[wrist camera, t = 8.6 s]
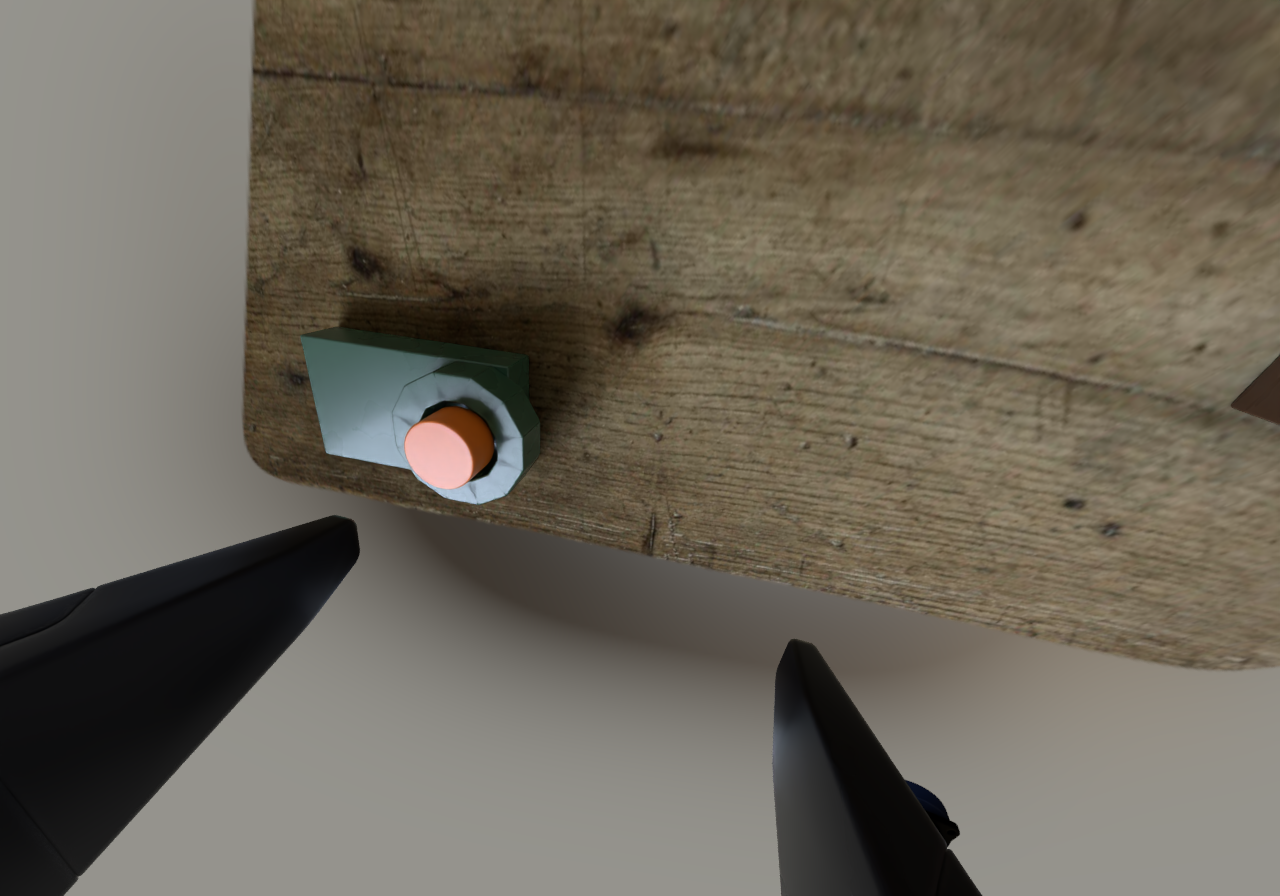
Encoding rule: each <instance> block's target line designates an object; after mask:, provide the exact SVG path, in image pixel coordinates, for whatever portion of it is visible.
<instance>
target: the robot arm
mask: <svg viewBox="0 0 1280 896" xmlns="http://www.w3.org/2000/svg"><path fill="white" fill-rule="evenodd" d="M359 553H360V548H359V540H358V533H357V526H356V523H355V522H354V520H352V519H349V518H345V517H341V516H336V515H333V516H329V517H325V518H322V519H319V520H315V521H312V522H309V523H306V524H302V525H299V526H296V527H292V528H289V529H286V530H282V531H279V532H276V533H272V534H270V535H266V536H263V537H259V538H256V539H252V540H249V541H246V542H243V543H239V544H236V545H233V546H229V547H226V548H223V549H220V550H216V551H213V552H209V553H206V554H203V555H200V556H196V557H193V558H189V559H186V560H183V561H180V562H176V563H173V564H170V565H167V566H163V567H160V568H156V569H153V570H150V571H147V572H144V573H140V574H137V575H133V576H130V577H127V578H123V579H120V580H117V581H114V582H110V583H107V584H103V585H100V586H98V587H97V588H96V589H95V588H90V589H87V590H83V591H80V592H77V593H73V594H70V595H67V596H63V597H60V598H57V599H53V600H50V601H46V602H43V603H40V604H36V605H33V606H29V607H26V608H22V609H19V610H15V611H12V612H8V613H4V614H1V615H0V896H64V894H65V893H66V892H67V891H68V890H69V889H70V888H71V887H72V886H73V885H74V883H75V882H76V881H77V880H78V876H81V875H82V874H83V873H84V872H85V871H86V870H87V869H88V868H89V867H90V865H91V864H92V863H93V862H94V861H95V860H96V859H97V858H98V856H100V854H101V853H102V852H103V851H104V850H105V849H106V848H107V847H108V846H109V844H110V843H111V842H112V841H113V840H114V839H115V838H116V837H117V836H118V835H119V834H120V832H121V831H122V830H123V829H124V828H125V827H126V826H127V825H128V824H129V822H130V821H131V820H132V819H133V818H134V817H135V816H136V815H137V814H138V812H139V811H140V810H141V809H142V808H143V807H144V806H145V805H146V804H147V803H148V802H149V800H150V799H151V798H152V797H153V796H154V795H155V794H156V793H157V792H158V791H159V789H160V788H161V787H162V786H163V785H164V784H165V783H166V782H167V781H168V779H169V778H170V777H171V776H172V775H173V774H174V773H175V772H176V771H177V770H178V769H179V767H180V766H181V765H182V764H183V763H184V762H185V761H186V759H188V757H189V756H190V755H191V754H192V753H193V752H194V751H195V750H196V749H197V748H198V746H199V745H200V744H201V743H202V742H203V741H204V740H205V739H206V738H207V737H208V735H209V734H210V733H211V732H212V731H213V730H214V729H215V728H216V727H217V726H218V724H219V723H220V722H221V721H222V720H223V719H224V718H225V717H226V716H227V715H228V713H229V712H230V711H231V710H232V709H233V708H234V707H235V706H236V705H237V704H238V702H239V701H240V700H241V699H242V698H243V697H244V696H245V694H247V692H248V691H249V690H250V689H251V688H252V687H253V686H254V685H255V684H256V683H257V681H258V680H259V679H260V678H261V677H262V676H263V675H264V674H265V673H266V671H267V670H268V669H269V668H270V667H271V666H272V665H273V664H274V663H275V662H276V661H277V659H278V658H279V657H280V656H281V655H282V654H283V653H284V652H285V651H286V649H287V648H288V647H289V646H290V645H291V644H292V643H293V642H294V641H295V640H296V638H297V637H298V636H299V635H300V634H301V633H302V632H303V630H304V629H305V628H306V627H307V626H308V625H309V624H310V622H311V621H312V620H313V618H314V617H315V616H316V615H317V613H318V612H319V611H320V609H321V608H322V607H323V605H324V604H325V603H326V601H327V600H328V599H329V597H330V596H331V595H332V594H333V592H334V591H335V590H336V588H337V587H338V586H339V584H340V583H341V581H342V580H343V579H344V578H345V576H346V575H347V573H348V572H349V571H350V570H351V568H352V567H353V566H354V564H355V563H356V561H357V559H358V557H359ZM773 782H774V797H775V810H776V825H777V839H778V853H779V868H780V882H781V896H982V895H981V893H980V892H979V890H978V889H977V888H976V886H975V884H974V883H973V882H972V880H971V879H970V877H969V876H968V874H967V873H966V871H965V870H964V868H963V867H962V865H961V864H960V862H959V861H958V859H957V858H956V856H955V855H954V853H953V852H952V851H951V850H950V849H947V844H949V843H950V842H951V841H953V840H954V839H955V838H957V837H958V836H959V835H960V831H959V828H958V825H957V824H956V823H955V822H952V821H950V820H948V819H945V818H943V817H941V816H938V815H936V814H933V813H931V812H928V811H926V810H924V808H923V807H922V805H921V804H920V802H919V801H918V799H917V798H916V796H915V795H914V793H913V792H912V790H911V789H910V787H909V786H908V784H907V783H906V781H905V780H904V779H903V777H902V775H901V774H900V773H899V771H898V769H897V768H896V766H895V765H894V764H893V762H892V761H891V759H890V757H889V756H888V754H887V753H886V752H885V750H884V749H883V747H882V745H881V744H880V742H879V741H878V740H877V738H876V736H875V735H874V733H873V732H872V730H871V729H870V728H869V726H868V724H867V723H866V721H865V720H864V718H863V717H862V715H861V714H860V712H859V711H858V709H857V708H856V706H855V705H854V704H853V702H852V700H851V699H850V698H849V696H848V694H847V693H846V692H845V690H844V688H843V687H842V686H841V684H840V682H839V681H838V679H837V678H836V676H835V675H834V673H833V672H832V670H831V669H830V667H829V666H828V664H827V663H826V662H825V660H824V659H823V657H822V655H821V654H820V653H819V651H818V649H817V648H816V647H815V646H814V645H813V644H812V643H809V642H805V641H801V640H798V639H791V640H790V642H789V643H788V645H787V647H786V649H785V652H784V654H783V656H782V659H781V661H780V663H779V665H778V668H777V672H776V680H775V706H774V732H773Z"/></svg>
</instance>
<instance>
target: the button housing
mask: <svg viewBox="0 0 1280 896" xmlns="http://www.w3.org/2000/svg"><path fill="white" fill-rule="evenodd" d="M301 341H302V346H303V350H304V355H305V360H306V364H307V369H308V373H309V378H310V382H311V387H312V392H313V396H314V401H315V405H316V410H317V414H318V419H319V424H320V428H321V433H322V437H323V442H324V446H325V451H326V453H327V454H332V455H337V456H342V457H347V458H353V459H358V460H363V461H368V462H373V463H379V464H384V465H389V466H394V467H399V468H405V469H410V470H411V471H412V472H413V474H414V475H415V477H417V479H418V480H420V481H421V482H423V483H424V484H425V485H427V486H428V487H430V488H431V489H433V490H434V491H436V492H437V493H438V494H440V495H441V496H443V497H444V498H447V499H451V500H456V501H461V502H466V503H471V504H476V505H478V504H479V505H481V504H484V503H487V502H490V501H493V500H496V499H498V498H501V497H504V496H507V495H508V494H509V493H510V492H511V491H512V490H513V489H514V488H515V487H516V485H517V484H518V483H519V482H520V481H521V480H522V479H523V478H524V476H525V475H526V474H527V472H528V471H529V469H530V468H531V466H532V465H533V463H534V462H535V461H536V459H537V458H538V456H539V454H540V422H539V418H538V417H537V415H536V413H535V411H534V409H533V407H532V405H531V404H530V402H529V356H528V355H525V354H518V353H511V352H505V351H498V350H491V349H485V348H478V347H471V346H464V345H458V344H451V343H444V342H438V341H431V340H424V339H417V338H411V337H404V336H397V335H391V334H384V333H377V332H370V331H364V330H357V329H350V328H344V327H333V328H329V329H324V330H320V331H316V332H311V333H307V334H303V335H301ZM448 406H458V407H463V408H466V409H469V410H471V411H472V412H474V413H476V414H477V415H478V416H479V417H481V418H482V419H483V420H484V422H485V423H486V424H487V426H488V427H489V429H490V431H491V433H492V436H493V440H494V453H493V456H492V459H491V461H490V462H489V463H488V464H487V465H486V466H485V467H484V468H483V469H482V470H481V471H480V472H479V473H477V474H476V475H475V476H474V477H473V478H472V479H471V480H470V481H469V482H468V483H466V484H465V485H464V486H462V487H459V488H456V489H442V488H438V487H435V486H433V485H431V484H429V483H427V482H426V481H424V480H423V479H421V478H420V477H419V476H418V475H417V474H416V473H415V471H414V470H413V469H412V467H411V466H410V464H409V462H408V460H407V458H406V455H405V450H404V441H405V437H406V434H407V432H408V431H409V429H410V428H411V427H412V426H413V425H414V424H416V423H417V422H419V421H421V420H423V419H424V418H426V417H428V416H429V415H431V414H433V413H435V412H436V411H438V410H440V409H442V408H444V407H448Z"/></svg>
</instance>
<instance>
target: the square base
mask: <svg viewBox="0 0 1280 896" xmlns="http://www.w3.org/2000/svg"><path fill="white" fill-rule="evenodd" d="M1231 407H1232V408H1234V409H1237V410H1240V411H1242V412H1245V413H1248V414H1251V415H1253V416H1256V417H1259V418H1261V419H1264V420H1267V421H1269V422H1272V423H1275V424H1278V425H1280V356H1279V357H1278V358H1277V359H1276V360H1275V361H1274V362H1273V363H1272V364H1271V365H1270V366H1269V367H1268V368H1267V369H1266V370H1265V371H1264V372H1263V373H1262V374H1261V375H1260V376H1259V377H1258V378H1257V379H1256V380H1255V381H1254V382H1253V383H1252V384H1251V385H1250V386H1249V387H1248V388H1247V389H1246V390H1245V391H1244V392H1243V393H1242V394H1241V395H1240V396H1239V397H1238V398H1237V399H1236V400H1235V401H1234V402H1233V403H1232V404H1231Z"/></svg>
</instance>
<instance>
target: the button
mask: <svg viewBox="0 0 1280 896" xmlns="http://www.w3.org/2000/svg"><path fill="white" fill-rule="evenodd" d="M404 450H405V455H406V458H407V460H408V462H409V464H410V466H411V467H412V469H413V470H414V471H415V473H416V474H417V475H418V476H419V477H420V478H421V479H423V480H424V481H426V482H427V483H429V484H431V485H433V486H435V487H438V488H442V489H456V488H459V487H462V486H464V485H465V484H466V483H468V482H469V481H470V480H471V479H472V478H473V477H474V476H475V475H476V474H477V473H479V472H480V471H481V470H482V469H483V468H484V467H485V466H486V465H487V464H488V463H489V462H490V461H491V459H492V456H493V453H494V440H493V436H492V433H491V431H490V429H489V427H488V426H487V424H486V423H485V422H484V420H483V419H482V418H481V417H479V416H478V415H477V414H476V413H474V412H472V411H471V410H469V409H466V408H463V407H458V406H448V407H444V408H442V409H440V410H438V411H436V412H435V413H433V414H431V415H429V416H428V417H426V418H424V419H423V420H421V421H419V422H417V423H416V424H414V425H413V426H412V427H411V428H410V429H409V431H408V432H407V434H406V437H405V441H404Z"/></svg>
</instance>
